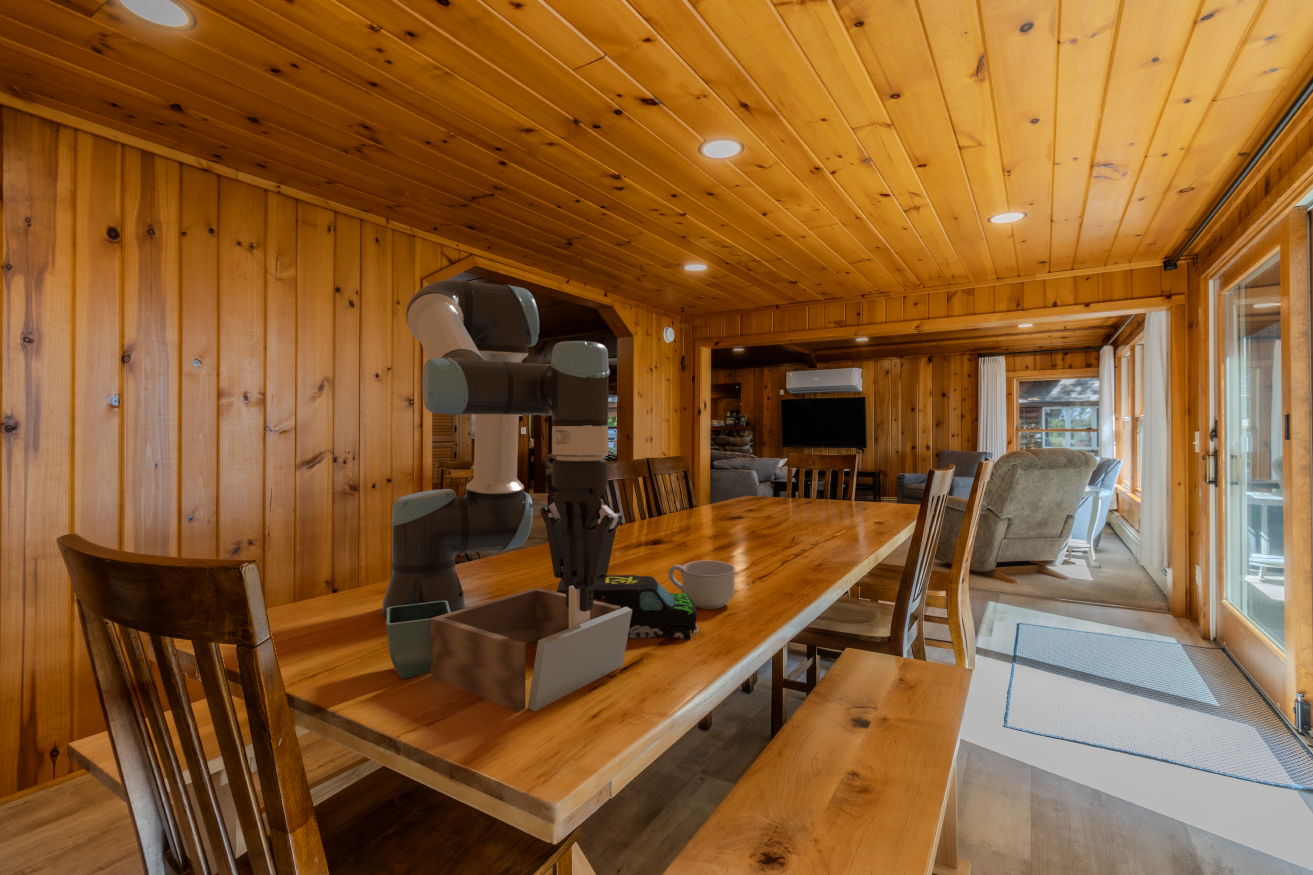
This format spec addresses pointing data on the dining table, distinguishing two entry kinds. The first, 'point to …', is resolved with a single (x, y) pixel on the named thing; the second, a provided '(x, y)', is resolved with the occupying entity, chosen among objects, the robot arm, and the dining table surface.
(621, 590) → the toy van
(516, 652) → the crate
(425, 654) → the flower pot
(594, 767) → the dining table surface
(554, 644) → the panel
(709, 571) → the teacup
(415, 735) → the dining table surface
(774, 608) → the dining table surface
